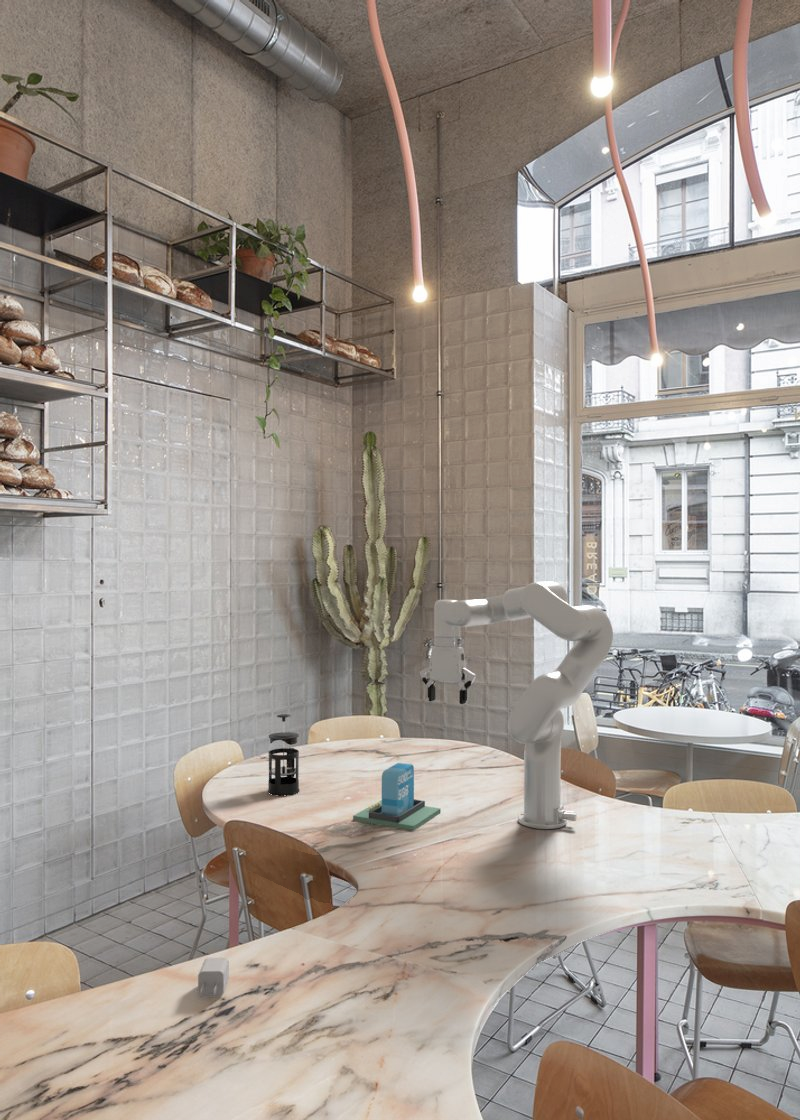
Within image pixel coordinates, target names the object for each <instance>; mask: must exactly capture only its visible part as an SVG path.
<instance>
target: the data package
mask: <svg viewBox="0 0 800 1120" xmlns="http://www.w3.org/2000/svg"><path fill="white" fill-rule="evenodd" d="M414 799H415V767H414V765H413V764H411V763H402V762H401V763H400V762H396V763H395V764H393V765H391V766H390V767H388V768H387V769H385V770H383V772H382V774H381V800H382V814H388V815H394V816H399V815H400V814H402V813H403V812H405V811H407V810H408V809H410V808H412V807H413V804H414Z"/></svg>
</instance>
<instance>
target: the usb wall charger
mask: <svg viewBox="0 0 800 1120" xmlns="http://www.w3.org/2000/svg"><path fill="white" fill-rule="evenodd" d="M229 963H230V962H229V958H227V957H207V958H205V959H204V961H203V962H202V965H201V968H200V969H199V971H198V974H197V993H198V996H199V997H204V998H205V997H222V996H223V995H224V993H225V989H226V987H227V985H228V981H229V979H230V978H229V977H230V976H229V975H230V973H229V972H230V968H229V965H230V964H229Z"/></svg>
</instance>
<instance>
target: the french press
mask: <svg viewBox="0 0 800 1120" xmlns="http://www.w3.org/2000/svg"><path fill="white" fill-rule="evenodd" d="M291 716H292V715H291V714H289V713H288V714H287V713H281V714H278V715H276V717H277V718H282V719H281V722H282V723H283V724H282V732H274V733H270V734H269V735H268V738H269V744H273V743H274V742H276V741H282V747H281V748H275V749H274V748H273V749H270V750H269V751H268V784H267V785H268V786H267V787H268V788H267V789H268V790H267V794H268V793H270V794H272V795H271V796H273V795H278V796H277V797H288V796H287V795H291V796H294V794H295V795H297V794H299V793H300V787H299V785H300V783H299V782H300V780H299V765H300V764H299V761H300V760H299V756H300V755H299V754H300V750H298V749H297V748H294V747H285V744H287V745H290V746H292V745H296V744H297V743H298V738H299V736H300V735H299V733H296V732H292V731H291V732H288V731H286V732H285V722H286V719H287V718H291ZM281 753H282V754H281ZM285 753H286V754H285ZM272 760H274V768H273V767H272V766H273V761H272ZM285 761H286V766H285ZM281 763H282V764H281ZM281 765H282V766H281ZM272 776H274V777H273V778H272ZM298 792H299V793H298ZM296 793H297V794H296ZM270 794H269V795H270ZM284 795H286V796H284Z"/></svg>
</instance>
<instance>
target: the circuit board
mask: <svg viewBox="0 0 800 1120" xmlns="http://www.w3.org/2000/svg"><path fill="white" fill-rule="evenodd" d="M440 814H441V808H439V807H432V806H428V805H427V806H426V801H425V800H420V799H415V798H414V804H413V807H412V808H410V809H408V810H407V811H405V812H403V813H402V814H400V815H399V816H394V815H388V814H382V799H380V800H379V801H377V802H375V803H374V804H371V805H370V806H368V807H367V808H364V809H363V810H361V811H359V812H357V813H356V814H354V815H352V820H353V821H355V820H357V821H356V822H360V821H362V822H361V823H366V822H368V823H367V824H372V823H374V824H373V825H379V826H384V827H389V828H390V827H391V828H397V829H401V830H402V829H403V830H407V831H413V832H414V831H416V830H417V829H419V828H420V827H421V826H423V825H424V824H426V823H428V822H430V821H431V820H433V819H434V818H435V817H437V816H438V815H440Z"/></svg>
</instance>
